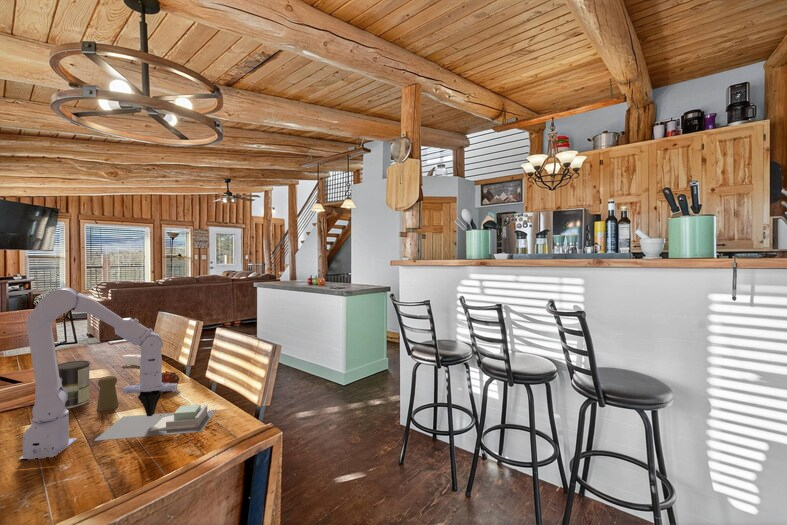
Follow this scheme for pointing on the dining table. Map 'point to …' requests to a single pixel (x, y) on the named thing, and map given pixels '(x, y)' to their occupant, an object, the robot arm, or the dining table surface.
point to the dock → (156, 425)
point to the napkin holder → (131, 360)
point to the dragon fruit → (169, 378)
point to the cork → (107, 394)
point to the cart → (187, 412)
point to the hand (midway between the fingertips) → (150, 414)
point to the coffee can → (75, 382)
